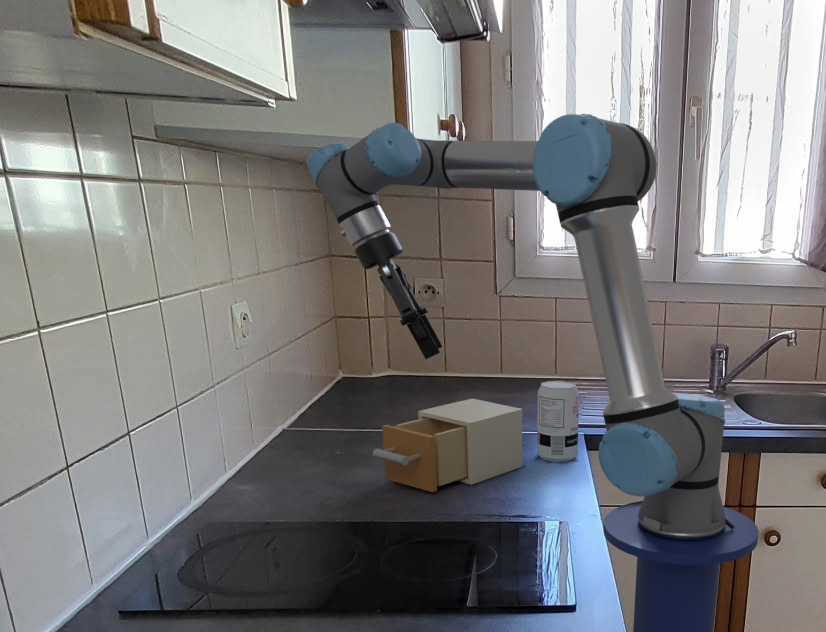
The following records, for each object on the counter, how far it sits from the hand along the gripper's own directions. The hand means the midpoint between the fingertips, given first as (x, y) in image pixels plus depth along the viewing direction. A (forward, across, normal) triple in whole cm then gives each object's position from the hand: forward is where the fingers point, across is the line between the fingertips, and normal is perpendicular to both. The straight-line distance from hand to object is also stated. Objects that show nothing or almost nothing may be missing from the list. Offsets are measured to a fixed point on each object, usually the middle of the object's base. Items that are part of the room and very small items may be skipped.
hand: (434, 352), depth 149 cm
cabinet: (+22, -3, -4) cm, 23 cm away
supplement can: (+30, -10, +11) cm, 33 cm away
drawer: (+19, +6, -12) cm, 23 cm away
